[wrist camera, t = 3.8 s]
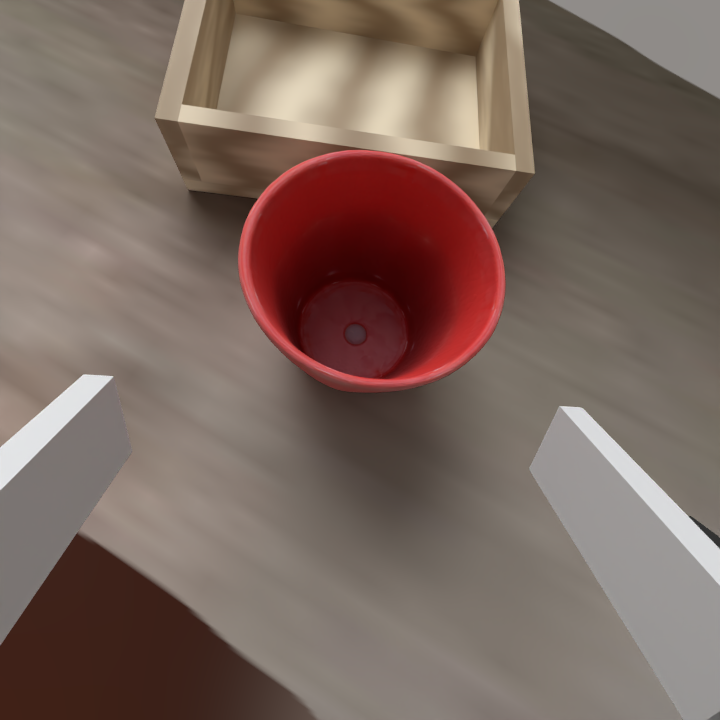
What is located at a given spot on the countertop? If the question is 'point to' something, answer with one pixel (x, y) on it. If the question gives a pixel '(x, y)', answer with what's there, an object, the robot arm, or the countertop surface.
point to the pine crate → (349, 91)
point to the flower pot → (371, 271)
